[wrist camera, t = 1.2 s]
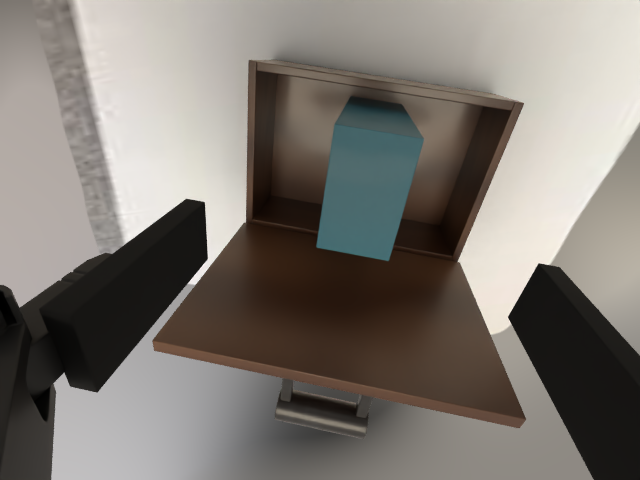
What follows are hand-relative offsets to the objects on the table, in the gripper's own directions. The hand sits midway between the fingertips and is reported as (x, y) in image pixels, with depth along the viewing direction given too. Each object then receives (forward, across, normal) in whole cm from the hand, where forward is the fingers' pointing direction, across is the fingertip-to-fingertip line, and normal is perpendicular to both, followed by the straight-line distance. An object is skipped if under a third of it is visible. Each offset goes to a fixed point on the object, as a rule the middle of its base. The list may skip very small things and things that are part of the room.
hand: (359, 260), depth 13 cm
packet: (+20, 0, 0) cm, 20 cm away
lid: (+7, 0, -7) cm, 10 cm away
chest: (+21, 0, -1) cm, 21 cm away
